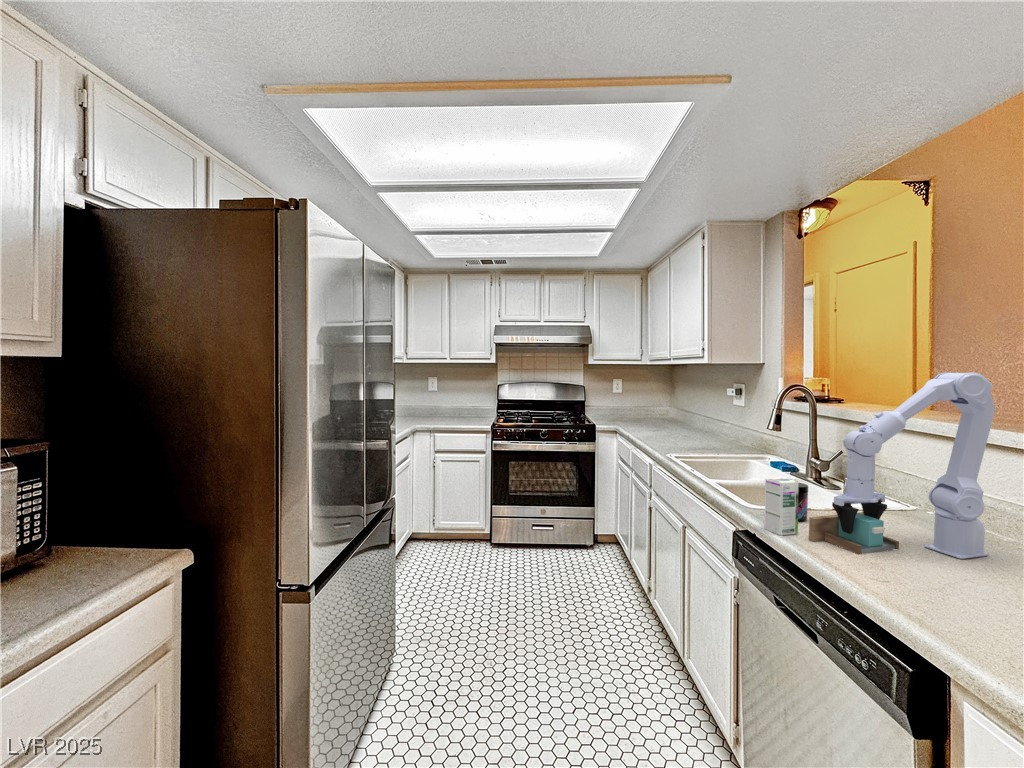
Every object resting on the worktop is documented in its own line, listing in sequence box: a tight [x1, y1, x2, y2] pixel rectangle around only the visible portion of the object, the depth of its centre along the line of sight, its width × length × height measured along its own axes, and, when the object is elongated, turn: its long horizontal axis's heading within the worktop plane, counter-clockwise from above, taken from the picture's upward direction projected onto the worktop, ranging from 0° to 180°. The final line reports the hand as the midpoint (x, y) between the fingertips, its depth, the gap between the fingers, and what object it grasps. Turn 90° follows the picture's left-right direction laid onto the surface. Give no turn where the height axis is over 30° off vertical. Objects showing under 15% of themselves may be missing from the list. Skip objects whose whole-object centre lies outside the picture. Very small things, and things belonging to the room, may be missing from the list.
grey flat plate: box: [835, 535, 895, 554], centre depth 118 cm, size 11×9×1 cm
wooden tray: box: [808, 511, 900, 555], centre depth 118 cm, size 20×10×6 cm, turn 105°
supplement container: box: [798, 481, 809, 523], centre depth 138 cm, size 7×7×10 cm
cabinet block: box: [838, 512, 885, 547], centre depth 117 cm, size 4×9×6 cm, turn 15°
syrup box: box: [764, 477, 799, 537], centre depth 127 cm, size 6×6×14 cm
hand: (858, 531), depth 118 cm, fingers open, 7 cm apart
